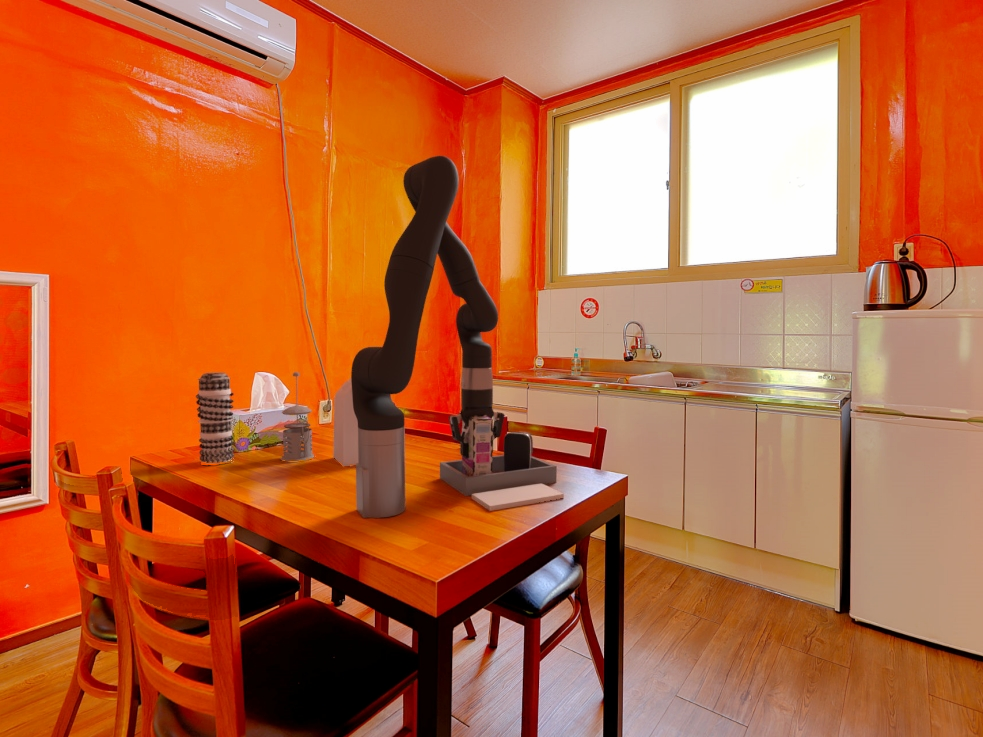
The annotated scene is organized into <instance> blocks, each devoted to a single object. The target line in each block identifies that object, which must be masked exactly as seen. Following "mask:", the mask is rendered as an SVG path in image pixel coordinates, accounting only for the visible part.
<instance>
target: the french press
mask: <svg viewBox="0 0 983 737" xmlns="http://www.w3.org/2000/svg"><path fill="white" fill-rule="evenodd" d="M292 376H293V377H295V392H296V393H295V394H296V395H295V396H296V398H295V400H296V403H295V405H293V406H289V407H287V408H285V409H284V410H282V411H281V413H282V414H283V415H286V416H296V422H294V423H293V422H292V423H286V424H284V425H283V427H284V428H285V429H284V430H283V431H282V437H283V438H282V441H283V454H282V457H280V459H281V460H285V461H299V460H306V459H310V458H313V457H314V455H315V454H314V453H313V440H312V438H313V436H312V434H313V432H312V431H313V430H312V428H310V427H311V423H309V422H308V419H307V417H304V421H302V419H301V418H300V417H299V415H307V414H311V413H312V412H313V411H312V409H311V408H309V407H308V406H307V407H306V406H304V405H299V404H298V377H300V376H301V375H300V373H299V372H297V371H295V372H293V373H292Z"/></svg>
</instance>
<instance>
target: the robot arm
mask: <svg viewBox="0 0 983 737" xmlns="http://www.w3.org/2000/svg"><path fill="white" fill-rule="evenodd" d="M459 182H460V179H459V171H458V169H457V166H456V165H455V163H454V162H453V160H452V159H450V157H447V156H444V155H435V156H431V157H429V158H427V159H423V160H422V161H420V162H418V163H415V164H413V165H411V166H410V167H409V168H407V169H406V171H405V172H404V175H403V182H402V183H403V188H404V191H405V194H406V196H407V199H408V201H409V203H410V205H411V207H412V209H413V210H414V215H413V216H412V219H411V220H410V221H409V223H408V224H407V226H406V228H405V229H404V231H403V232H402V234H401V235H400V237H398V240H397V241H396V243H395V245H394V247H393V249H392V251H391V254H390V257H389V259H388V260H389V261H388V264H387V267H386V271H385V275H384V282H383V283H384V285H383V286H384V294H385V299H386V303H387V307H388V308H387V309H388V312H389V322H388V327H387V332H386V335H385V338H384V342H383V345H382V346H368V347H364V348H362V349H360V350H359V351H358V352H356V354H355V357H354V358H353V361H352V365H351V372H350V374H351V375H350V378H351V382H352V397H353V409H354V413H355V415H356V418H357V421H358V463H357V464H356V466H355V481H356V482H355V485H356V486H355V487H356V488H355V489H356V495H355V496H356V497H355V498H356V499H355V500H356V510H357V511H358V513H359V514H360V516H361V517H362V518H364V519H365V518H377V519H379V518H390V517H393V516H397V515H400V514H402V513H403V512H405V510H406V449H405V448H406V446H405V444H406V443H405V442H406V440H405V437H406V436H405V435H406V434H405V430H406V429H405V428H406V427H405V426H406V425H405V414H404V412H403V410H401V409H400V408H399V407H397V405H396V404H395V403H394V401H393V400H392V397H391V395H397V394H399V393H401V392H403V391H404V390H406V388H407V387H408V386H409V383H410V380H411V379H412V375H413V371H414V368H415V361H416V352H417V345H418V338H419V332H420V327H421V323H422V318H423V314H424V309H425V305H426V300H427V297H428V292H429V290H430V286H431V283H432V278H433V274H434V269H435V265H436V261H437V256H438V258H439V260H440V263H441V265H442V268H443V271H444V273H445V276H446V279H447V282H448V284H449V287H450V289H451V292H452V293H453V295H454V296H455V297H458V298H461V299H462V300H464V302H465V303H464V304H463V303H462V305H461V306H459V308H458V310H457V312H456V319H455V326H456V330H457V335H458V338H459V342H460V343H459V344H460V346H461V350H462V358H461V361H462V362H461V363H462V366H461V367H462V369H461V377H460V380H461V381H460V392H461V393H460V396H461V398H460V400H461V401H460V402H461V403H460V405H461V406H460V407H461V410H460V412H459V414H455V415H452V414H451V415H449V416H448V420H449V425H450V427H449V428H450V432H451V435H452V436H451V437H452V439H453V440H454V441H457V442H459V443H460V444H459V446H460V450H459V451H460V452H459V453H460V455H461V457H462V456H463V458H465V459H467V458H469V443H467V442H468V440H469V427H468V426H469V418H470V417H477V416H483V417H489V418H491V419H493V441H494V440H495V439H497V438H500V437H501V436H502V431H503V426H504V420H505V414H504V413H503V412H500V411H494V409H493V405H494V401H493V399H494V395H493V394H494V390H493V389H494V385H493V384H494V381H493V380H494V376H493V367H492V366H493V362H492V361H493V357H492V356H493V353H492V352H493V351H492V346H491V345H490V344H489V343H487V342H485V341H483V338H482V333H489V332H491V331H493V330H495V328H496V327H497V325H498V321H499V313H498V308H497V306H496V304H495V302H494V300H493V298H492V297H491V296H490V294H489V292H488V291H487V289H486V287H485V286H484V285H483V283H482V282H481V280H480V276H479V273H478V270H477V266H476V263H475V262H474V259H473V256H472V254H471V252H470V251H469V249H468V247H467V246H466V245H465V244H464V242H463V241H462V240H461V239H460V238H459V236H457V234H456V233H455V232H454V231H453V229H452V228H451V226H450V225H449V223H448V222H447V221H448V219H449V215H450V213H451V211H452V208H453V205H454V202H455V199H456V196H457V193H458V189H459ZM461 420H463V422H464V425H463V428H462V427H461V429H460V425H459V424H460V423H461ZM466 426H467V427H468V429H466ZM460 430H461V431H460ZM493 452H494V449H493V450H492V454H493Z"/></svg>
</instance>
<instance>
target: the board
mask: <svg viewBox="0 0 983 737" xmlns="http://www.w3.org/2000/svg"><path fill="white" fill-rule="evenodd" d="M560 498H563V499H564V498H565V495H564V493H562V492H561V491H559V490H556V489H554V488H552V487H550V486H548V485H547V484H542V483H541V484H534V485H527V486H521V487H514V488H508V489H501V490H494V491H488V492H481V493H475V494H472V495H471V499H472V500H473V501H475V503H476V502H477V503H478V504H479V505H480V506H482V507H483V508H485V509H486V510H488V511H489V512H491V511H497V510H504V509H509V508H516V507H521V506H527V505H533V504H538V503H539V502H540V503H544V501H546V502H551V501H550V500H552V501H556V499H557V500H561V499H560ZM540 503H539V504H540Z"/></svg>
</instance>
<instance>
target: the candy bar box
mask: <svg viewBox="0 0 983 737" xmlns="http://www.w3.org/2000/svg"><path fill="white" fill-rule="evenodd" d="M461 420H462V419H461ZM461 423H462V424H461V425H462V426H461V429H462V428H463V425H464V422H463V420H462V421H461ZM493 425H494V419H493V418H492V419H491V418H489V417H483V416H477V417H470V418H469V426H468V427H469V440H468V442H467V443H469V458H467V459H465V458H463V456H462V455H461V460H462V473H463V474H464V475H466V476H468V477H470V476H478V475H485V474H492V473H493V472H492V456H493V453H492V450H493V451H494V440H493ZM468 427H467V426H466V429H468Z"/></svg>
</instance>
